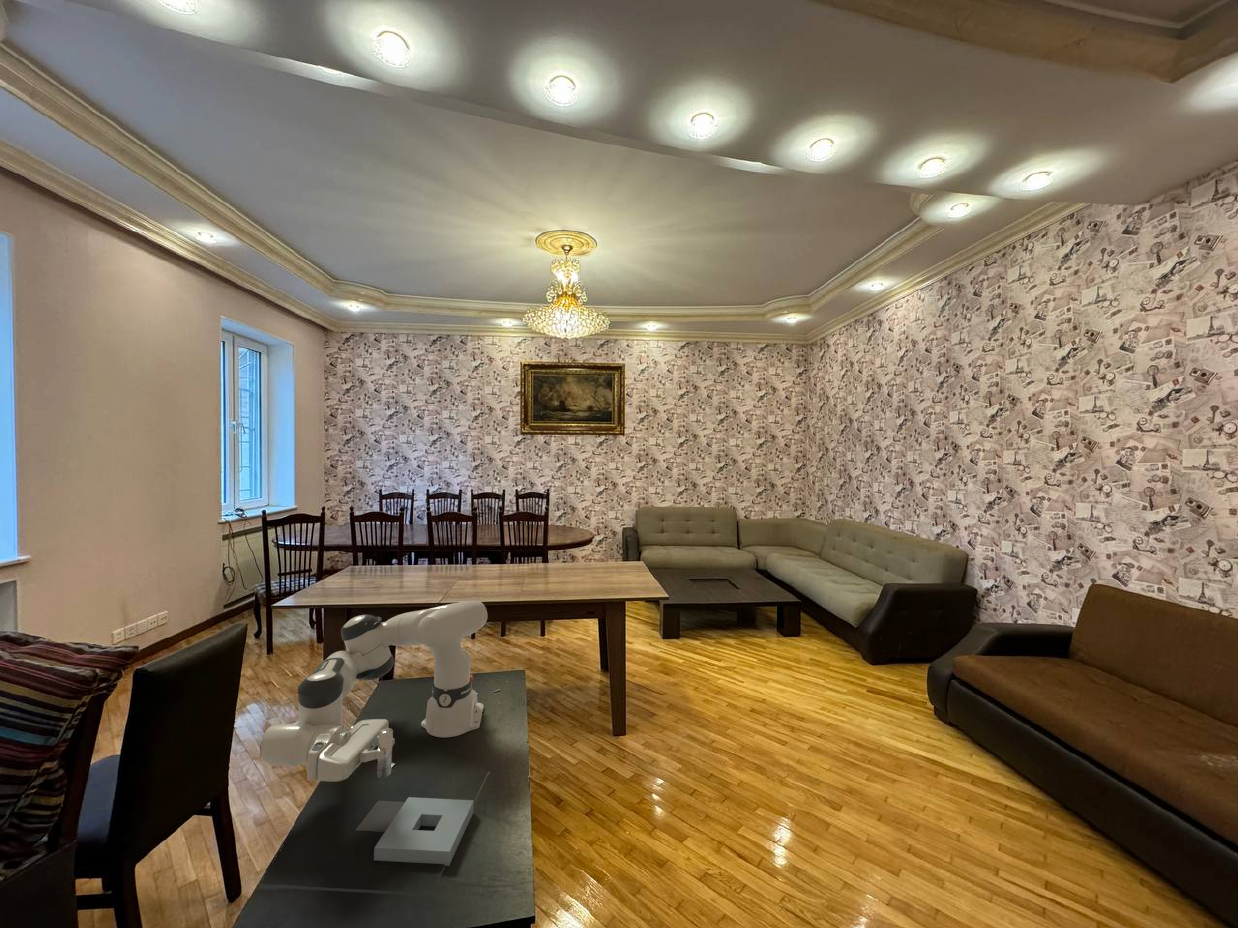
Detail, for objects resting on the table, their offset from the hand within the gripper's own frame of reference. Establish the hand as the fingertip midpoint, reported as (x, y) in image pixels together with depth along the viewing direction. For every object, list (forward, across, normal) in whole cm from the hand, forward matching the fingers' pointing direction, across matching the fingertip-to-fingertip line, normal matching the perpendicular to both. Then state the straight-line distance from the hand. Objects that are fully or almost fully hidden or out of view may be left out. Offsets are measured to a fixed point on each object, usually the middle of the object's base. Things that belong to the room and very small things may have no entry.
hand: (388, 748), depth 116 cm
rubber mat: (-1, 0, -16) cm, 16 cm away
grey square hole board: (+12, +5, -16) cm, 21 cm away
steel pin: (-1, 0, -6) cm, 6 cm away
